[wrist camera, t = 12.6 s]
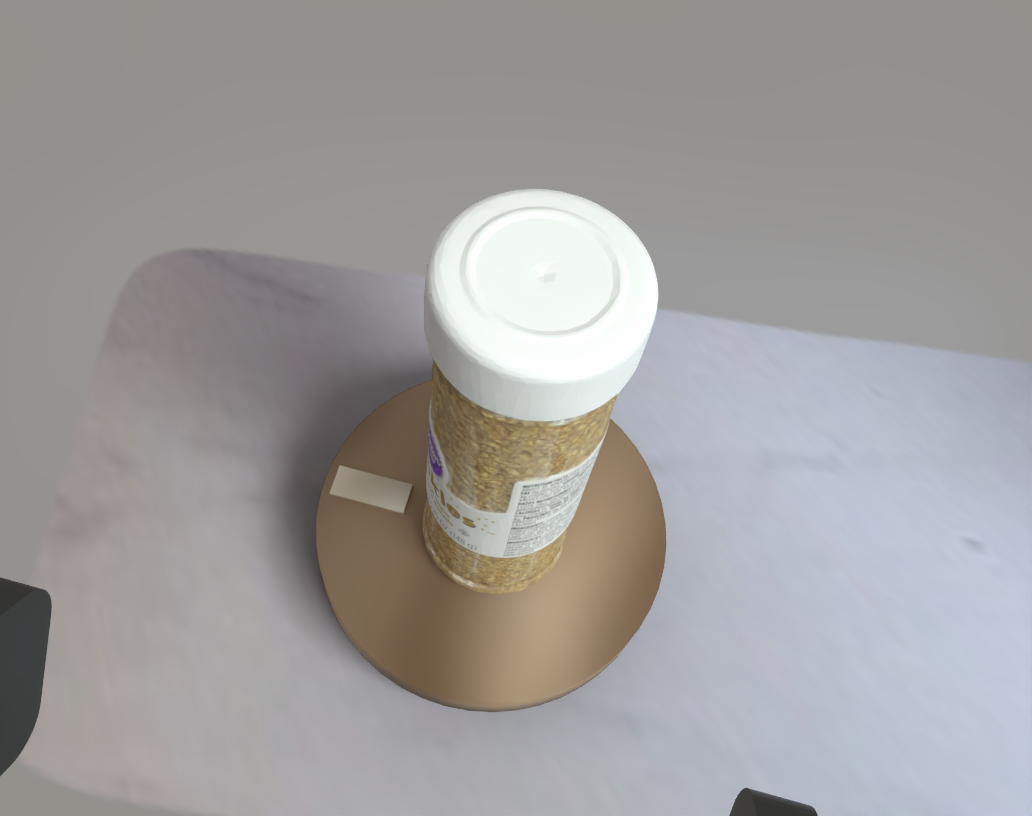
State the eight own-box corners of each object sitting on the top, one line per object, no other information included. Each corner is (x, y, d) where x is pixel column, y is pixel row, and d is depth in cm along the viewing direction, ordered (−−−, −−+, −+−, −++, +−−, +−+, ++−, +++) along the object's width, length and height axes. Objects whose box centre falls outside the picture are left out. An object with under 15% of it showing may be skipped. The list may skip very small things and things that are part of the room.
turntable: (679, 437, 34) (690, 416, 32) (622, 753, 28) (633, 745, 27) (380, 359, 34) (378, 335, 33) (269, 658, 29) (262, 644, 27)
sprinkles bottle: (398, 498, 30) (384, 221, 18) (524, 442, 31) (587, 151, 20) (463, 626, 28) (494, 412, 17) (594, 561, 30) (709, 319, 18)
